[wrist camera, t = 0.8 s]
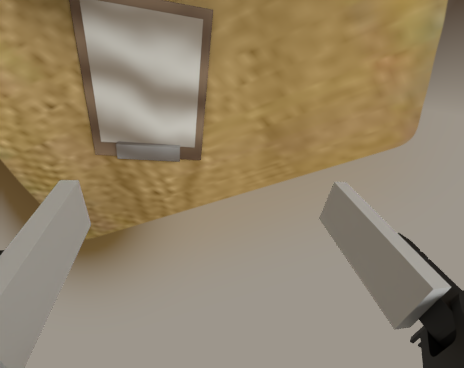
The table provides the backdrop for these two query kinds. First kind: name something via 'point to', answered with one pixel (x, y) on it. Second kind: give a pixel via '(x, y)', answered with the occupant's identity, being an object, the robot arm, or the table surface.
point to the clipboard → (144, 76)
